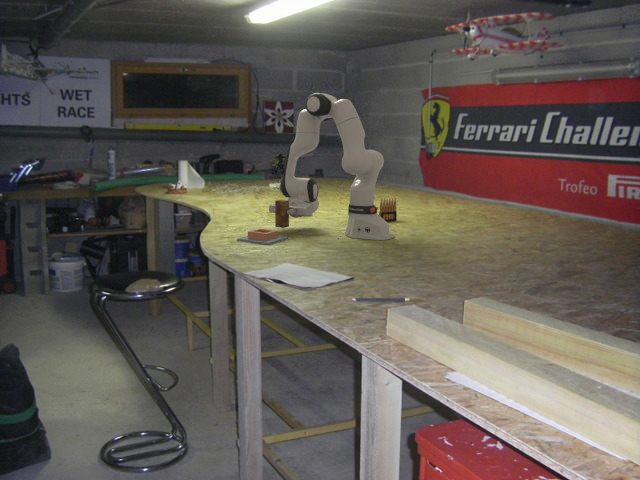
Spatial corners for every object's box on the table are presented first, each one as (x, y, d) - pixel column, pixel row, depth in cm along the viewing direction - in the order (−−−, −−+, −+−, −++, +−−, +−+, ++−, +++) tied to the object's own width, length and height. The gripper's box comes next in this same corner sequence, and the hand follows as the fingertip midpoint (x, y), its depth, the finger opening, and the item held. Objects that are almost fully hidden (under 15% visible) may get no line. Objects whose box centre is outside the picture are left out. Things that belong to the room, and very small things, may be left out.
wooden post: (289, 226, 286) (289, 200, 283) (283, 227, 282) (283, 201, 280) (280, 225, 288) (280, 199, 286) (275, 227, 284) (275, 200, 282)
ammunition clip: (394, 220, 335) (395, 198, 333) (396, 220, 333) (397, 198, 331) (378, 221, 330) (379, 198, 327) (380, 222, 328) (381, 199, 326)
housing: (288, 239, 276) (288, 230, 275) (268, 245, 262) (268, 235, 261) (258, 235, 283) (258, 226, 283) (237, 240, 269) (237, 231, 269)
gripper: (277, 199, 299) (261, 203, 287) (315, 202, 289) (300, 206, 277) (277, 212, 300) (261, 216, 288) (315, 216, 291) (300, 220, 279)
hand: (281, 211), depth 283 cm, fingers closed on wooden post, 4 cm apart
